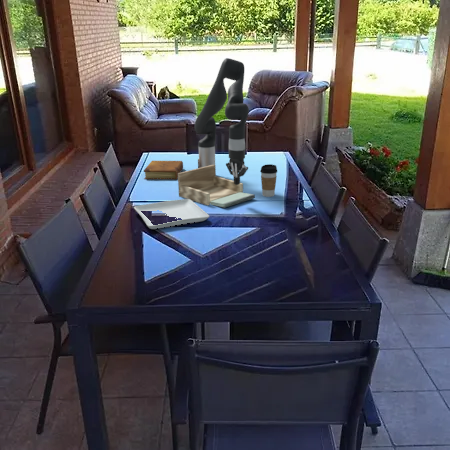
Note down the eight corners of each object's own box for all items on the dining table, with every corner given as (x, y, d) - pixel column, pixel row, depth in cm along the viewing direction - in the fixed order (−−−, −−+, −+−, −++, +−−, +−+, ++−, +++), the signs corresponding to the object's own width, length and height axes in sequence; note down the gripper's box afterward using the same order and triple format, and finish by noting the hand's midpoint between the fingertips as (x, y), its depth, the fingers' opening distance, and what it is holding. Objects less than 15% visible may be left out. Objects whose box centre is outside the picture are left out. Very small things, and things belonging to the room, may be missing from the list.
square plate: (133, 213, 228) (132, 205, 227) (189, 205, 238) (189, 197, 237) (148, 233, 205) (148, 224, 204) (210, 223, 215) (210, 215, 213)
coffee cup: (279, 194, 251) (279, 165, 246) (273, 198, 244) (274, 169, 239) (263, 192, 255) (264, 163, 249) (257, 196, 248) (257, 167, 242)
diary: (177, 180, 280) (176, 170, 278) (144, 180, 281) (143, 170, 279) (183, 169, 301) (182, 160, 299) (152, 169, 303) (152, 160, 301)
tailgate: (210, 201, 236) (224, 204, 229) (240, 192, 249) (254, 194, 242) (210, 204, 237) (225, 207, 230) (240, 195, 250) (254, 197, 243)
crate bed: (178, 196, 250) (177, 173, 246) (214, 186, 266) (213, 164, 261) (207, 206, 236) (206, 181, 231) (242, 194, 251) (242, 171, 247)
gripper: (221, 147, 230) (221, 183, 237) (241, 151, 221) (241, 189, 228) (232, 144, 235) (232, 180, 241) (253, 149, 226) (252, 185, 232)
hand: (236, 184), depth 235 cm, fingers closed
